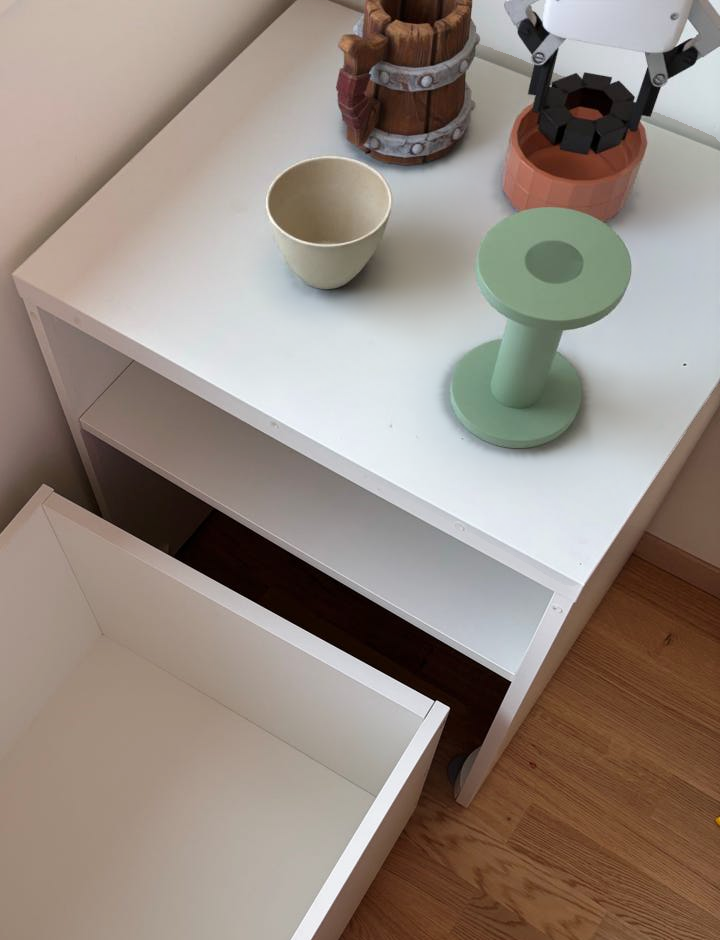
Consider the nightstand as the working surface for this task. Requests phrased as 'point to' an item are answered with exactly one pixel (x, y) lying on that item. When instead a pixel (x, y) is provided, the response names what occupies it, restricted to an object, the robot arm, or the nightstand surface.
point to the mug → (408, 78)
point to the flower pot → (328, 217)
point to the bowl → (569, 170)
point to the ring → (593, 95)
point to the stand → (536, 322)
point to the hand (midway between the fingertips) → (587, 109)
